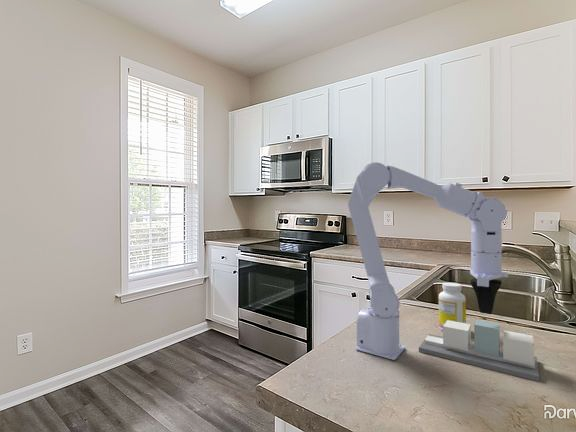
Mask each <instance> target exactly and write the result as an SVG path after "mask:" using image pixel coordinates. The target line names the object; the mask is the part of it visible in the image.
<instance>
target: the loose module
mask: <svg viewBox="0 0 576 432" xmlns="http://www.w3.org/2000/svg"><path fill="white" fill-rule="evenodd" d="M473 329H474V330H473V331H474V332H473V333H474V334H473V335H474V336H473V337H474V338H473V341H474V342H473V343H474V352H478V353H483V354H487V355H491V356H496V357H499V354H500V349H501V323H498V322H494V321H493V322H492V321H487V320H481V319H476V320H475V323H474V328H473Z"/></svg>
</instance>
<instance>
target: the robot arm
mask: <svg viewBox="0 0 576 432" xmlns="http://www.w3.org/2000/svg"><path fill="white" fill-rule="evenodd" d="M386 186H387V189H388V190H390V189H397V188H403V189H405V190H409V191H411V192H414V193H417V194H419V195H423V196H425V197H427V198H428V197H429V198H431V199H434V200H435V202H436V205H437V206H438V207H440V208H442V209H444V210H446V211H449V212H451V213H455V214H457V215H460V216H463V217H465V218H468V219H469V220H470V221H471V226H470V228H471V229H470V239H471V240H470V271H469V274H470V275H471V276H473V277H474V278H472V279H470V285H471V287H472V288H473V290H474V293H475V297H476V301H477V305H478V309H479V313H480V314H488V315H492V313H493V310H494V306H495V300H496V296H497V293H498V291H499V289H500V288H501V287H502V283H503V282H502V280H499V279H501V278H508V276H509V273H508V272H503V271H502V269H503V268H502V267H503V266H502V258H503V257H502V254H503V253H502V252H503V251H502V250H503V249H502V242H503V241H502V240H503V239H502V237H503V235H502V234H503V233H502V232H503V231H502V222H503V221H504V220H505V219H506V218H507V215H508V209H506V206H505V205H504V203H503V202H502V201H501V200H500V199H499V198H496V197H490V196H489V197H485V196H484V193H483V192H481V191H477V192H475V191H472V190H470V189H467V188H464V187H462V186H463V184H461V183H458V182H454V183H447V184H444V185H440V184H437V183H435V182H433V181H429V180H427V179H425V178H423V177H421V176H418V175H415V174H413V173H411V172H409V171H406V170H404V169H400V168H397V167H395V166H392V165H385V164H383V163H381V162H371V163H368V164H367V165H366V166H364V167H363V168H362V170H361V171H360V172H359V174H358V175H357V176H356V179H355V182H354V185H353V187H352V191H351V193H350V197H349V198H348V199H349V200H348V202H347V206H348V210H349V214H350V218H351V221H352V224H353V229H354V232H355V236H356V238H357V239H356V240H357V242H358V246H359V250H360V254H361V258H362V261H363V265H364V269H365V272H366V276H367V279H368V284H369V290H368V295H369V299H370V302H369V303H370V306H369V307H367V308H366V309H365V308H363V309H361V310H360V311H358V315H357V319H356V347H355V350H356V351H360V352H364V353H367V354H371V355H374V356H379V357H381V358H384V359H389V360H392V361H395V360H397V358H398V357H399V356H400V355H401V353H403V351H404V350H405V349H406V346H405V345H402V344H400V311H399V308H400V305H401V304H400V299H399V296H398V295H397V294H396V292H395V288H394V286H393V285H392V284H391V283H390V280H389V276H388V274H387V270H386V267H385V262H384V259H383V256H382V252H381V249H380V244H379V241H378V238H377V233H376V231H375V227H374V223H373V219H372V216H371V211H370V208H369V207H370V206H371V204H372V202H373V201H374V199H375V198H376V195H377V194H379V193H380V192H381V191H382V190H383V189H384V188H385V187H386Z"/></svg>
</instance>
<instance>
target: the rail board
mask: <svg viewBox="0 0 576 432" xmlns="http://www.w3.org/2000/svg"><path fill="white" fill-rule="evenodd" d="M471 327H472V325H471V324H470V323H467V322H466V323H461V322H455V321H450V320H447V321H446V323H445V324H444V326H443V331H442V336H440V335H435V334H431V333H428V334H427V336H426V337H425V339H424V340H423V341H422V342H421V344H420V345H419V347H418V353H423V354H427V355H431V356H435V357H438V358H443V359H447V360H451V361H455V362H459V363H463V364H466V365H467V364H468V365H470V366H475V367H478V368H482V369H487V370H491V371H495V372H499V373H503V374H507V375H509V376H510V375H511V376H515V377H519V378H523V379H527V380H530V381H535V382H538V383H539V382H540V373H539V372H540V371H539V365H538V364H539V363H538V357H537V356H534V353H535V352H534V351H535V350H534V348H535V346H534V335H529V334H526V333H520V332H514V331H509V330H503V331H504V332H503V336H502V337H503V338H502V342H503V344H502V345H503V346H502V347H503V348H502V349H501V348H500V354H499V357H496V356H491V355H487V354H483V353H478V352H474V342H473V343H472V342H471V341H472V337H471V336H472V333H471V332H472V328H471Z"/></svg>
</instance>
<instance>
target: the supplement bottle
mask: <svg viewBox="0 0 576 432" xmlns="http://www.w3.org/2000/svg"><path fill="white" fill-rule="evenodd" d="M441 286H442V291H440V293H439V294H438V328H439V330H440V331H442V332H443V326H444V324H445V323H446V321H447V320H450V321H455V322H461V323H466V324H467V309H466V308H467V304H466V303H467V299H466V296H465V294H464V293H462V292H461V291H462V287H463V286H462V284H460V283H458V282H443V283H442V285H441Z"/></svg>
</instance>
